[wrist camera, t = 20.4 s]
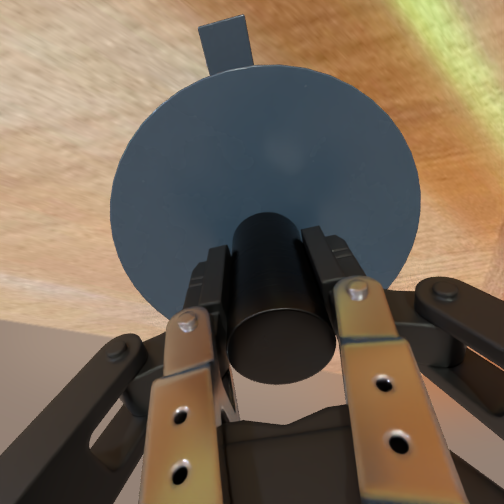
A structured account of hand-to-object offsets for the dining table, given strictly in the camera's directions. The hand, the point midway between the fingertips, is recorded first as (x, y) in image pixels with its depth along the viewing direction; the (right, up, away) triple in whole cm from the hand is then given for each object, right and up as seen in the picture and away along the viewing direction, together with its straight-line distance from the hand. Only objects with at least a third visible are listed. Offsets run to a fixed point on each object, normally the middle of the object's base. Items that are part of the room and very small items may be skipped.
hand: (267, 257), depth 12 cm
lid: (0, +1, +2) cm, 2 cm away
